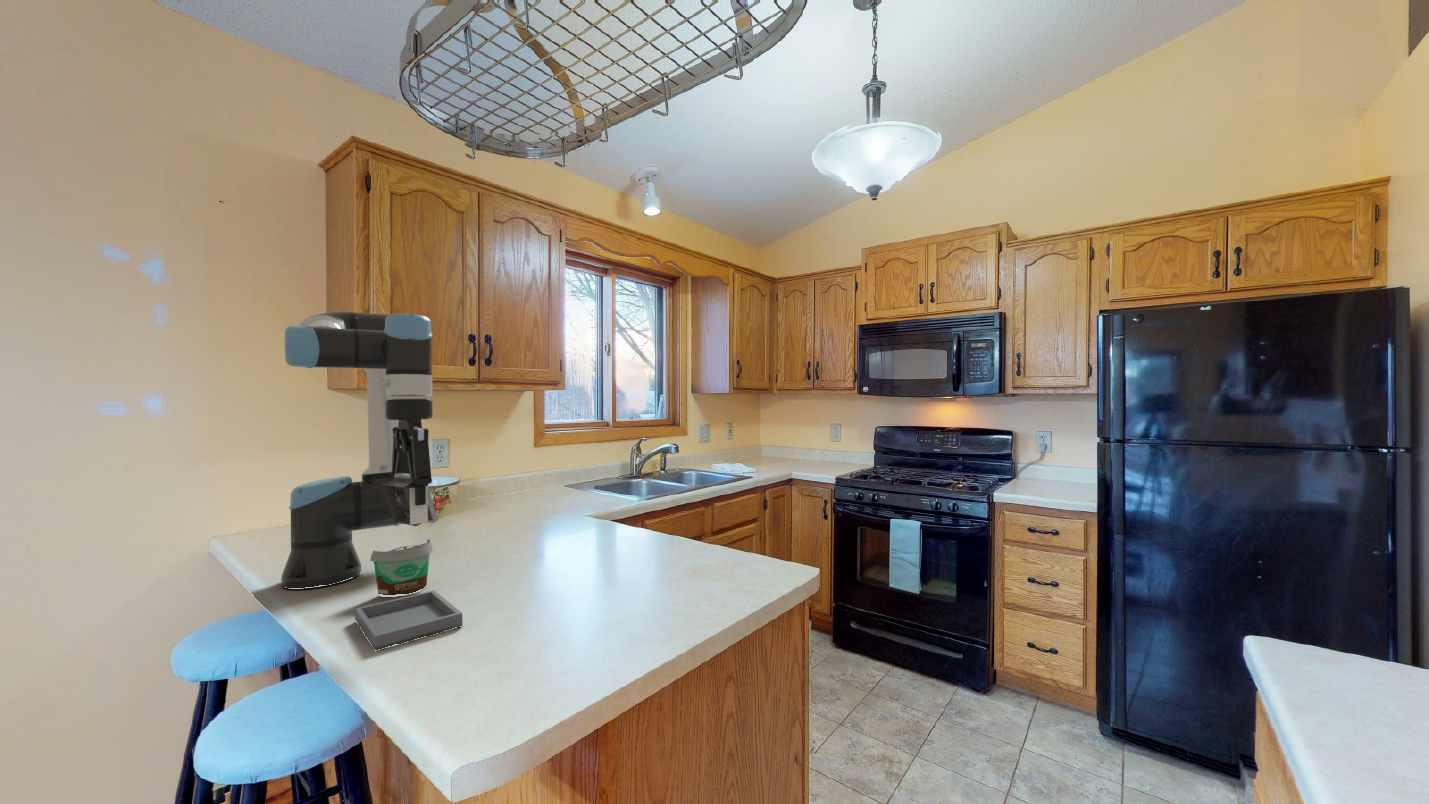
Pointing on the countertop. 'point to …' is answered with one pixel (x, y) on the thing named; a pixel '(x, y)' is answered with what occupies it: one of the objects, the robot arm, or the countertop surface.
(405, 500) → the electrical switch
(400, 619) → the back box
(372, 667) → the countertop surface
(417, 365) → the robot arm
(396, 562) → the food container
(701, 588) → the countertop surface
